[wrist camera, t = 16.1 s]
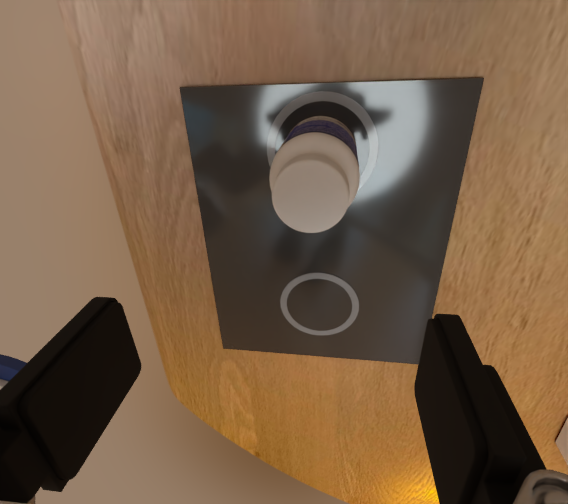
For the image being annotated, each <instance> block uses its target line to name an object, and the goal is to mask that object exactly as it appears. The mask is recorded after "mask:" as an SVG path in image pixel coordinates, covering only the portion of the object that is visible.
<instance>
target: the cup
mask: <svg viewBox="0 0 568 504" xmlns="http://www.w3.org/2000/svg"><path fill="white" fill-rule="evenodd" d="M556 445H557V447H558V449H559V450H560V452H561V454H562V456H563V458H564V460H565V462H566V463H567V465H568V418H567V420H566V422H565V424H564V426H563V428H562V430H561V432H560V434H559V436H558V438H557V440H556Z"/></svg>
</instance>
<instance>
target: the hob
mask: <svg viewBox="0 0 568 504" xmlns="http://www.w3.org/2000/svg"><path fill="white" fill-rule="evenodd" d="M483 80H484V78H451V79H419V80H387V81H355V82H323V83H291V84H259V85H226V86H194V87H180V92H181V98H182V104H183V110H184V116H185V122H186V128H187V134H188V140H189V146H190V152H191V158H192V164H193V170H194V176H195V182H196V188H197V194H198V200H199V206H200V212H201V218H202V224H203V230H204V236H205V242H206V248H207V254H208V260H209V266H210V272H211V278H212V284H213V290H214V296H215V302H216V308H217V314H218V320H219V326H220V332H221V338H222V344H223V348H224V349H237V350H249V351H261V352H274V353H286V354H298V355H311V356H323V357H335V358H347V359H360V360H372V361H384V362H397V363H409V364H419V360H420V355H421V350H422V345H423V340H424V336H425V331H426V326H427V321H428V319H432V314H433V310H434V305H435V300H436V296H437V291H438V287H439V282H440V277H441V273H442V268H443V264H444V259H445V255H446V250H447V245H448V241H449V236H450V232H451V227H452V222H453V218H454V213H455V209H456V204H457V199H458V195H459V190H460V186H461V181H462V177H463V172H464V167H465V163H466V158H467V154H468V149H469V144H470V140H471V135H472V131H473V126H474V121H475V117H476V112H477V108H478V103H479V99H480V94H481V89H482V85H483ZM315 116H326V117H331V118H334V119H336V120H338V121H340V122H341V123H343V124H344V125H345V126H346V127H347V128H348V129H349V130H350V132H351V133H352V135H353V137H354V139H355V142H356V147H357V156H358V163H359V172H360V182H359V188H358V191H357V194H356V196H355V198H354V200H353V202H352V203H351V205H350V206H349V207H348V208H347V210H346V212H345V214H344V216H343V217H342V219H341V220H340V221H339V222H338V223H337V224H336V225H334V226H333V227H331V228H330V229H328V230H325V231H322V232H318V233H305V232H300V231H297V230H295V229H292V228H291V227H289V226H287V225H286V224H285V223H284V222H283V221H282V220H281V219H280V218H279V216H278V215H277V213H276V211H275V209H274V206H273V203H272V191H271V188H270V181H269V176H270V169H271V165H272V162H273V159H274V157H275V155H276V153H277V152H278V150H279V148H280V147H281V145H282V144H283V142H284V141H285V139H286V138H287V136H288V134H289V133H290V131H291V130H292V129H293V128H294V127H295V126H296V125H297V124H299V123H300V122H301V121H303V120H305V119H307V118H311V117H315Z"/></svg>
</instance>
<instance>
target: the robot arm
mask: <svg viewBox="0 0 568 504" xmlns="http://www.w3.org/2000/svg"><path fill="white" fill-rule="evenodd" d="M140 370H141V362H140V359H139V356H138V353H137V350H136V346H135V343H134V340H133V337H132V334H131V332H130V328H129V325H128V322H127V319H126V316H125V313H124V310H123V307H122V305H121V304H120V303H118V301H117V300H116V299H115V298H108V297H95V298H93V299H92V300H91V301H90V302H89V303H88V304H87V305H86V306H85V307H84V308H83V309H82V310H81V311H80V312H79V313H78V314H77V315H76V316H75V317H74V318H73V319H72V320H71V321H69V322H68V323H67V325H66V326H64V327H63V328H62V329H61V330H60V331H59V332H58V333H57V334H56V335H55V336H54V337H53V338H52V339H51V340H50V341H49V342H48V343H47V344H46V345H45V346H44V347H43V348H42V349H41V350H40V351H39V352H38V353H37V354H36V355H35V356H34V357H33V358H32V359H31V360H30V361H29V362H28V363H27V364H26V365H25V366H24V367H23V368H22V369H21V370H20V371H19V372H18V373H17V374H16V375H15V376H14V377H13V378H12V379H11V380H10V381H6V380H3V379H0V504H35V494H36V493H37V491H38V490H39V488H40V487H42V488H43V490H50V491H58V492H61V491H62V490H63V489H64V487H65V485H66V484H67V482H68V481H69V480H70V479H72V478H73V477H75V476H76V474H77V473H78V472H79V470H80V468H81V467H82V465H83V464H84V462H85V460H86V459H87V457H88V456H89V454H90V452H91V451H92V449H93V448H94V446H95V444H96V443H97V441H98V440H99V438H100V436H101V435H102V433H103V432H104V430H105V428H106V427H107V425H108V424H109V422H110V420H111V419H112V417H113V416H114V414H115V412H116V411H117V409H118V408H119V406H120V404H121V403H122V401H123V399H124V398H125V396H126V395H127V393H128V392H129V390H130V388H131V387H132V385H133V383H134V382H135V380H136V379H137V377H138V375H139V373H140ZM415 398H416V402H417V407H418V411H419V415H420V420H421V424H422V428H423V433H424V437H425V442H426V446H427V450H428V455H429V459H430V463H431V468H432V472H433V476H434V481H435V485H436V489H437V494H438V498H439V502H440V504H568V475H566V474H564V473H560V472H557V471H554V470H547V469H546V467H545V465H544V463H543V461H542V459H541V457H540V455H539V453H538V451H537V449H536V447H535V446H534V444H533V442H532V440H531V438H530V436H529V434H528V432H527V430H526V428H525V426H524V424H523V422H522V420H521V418H520V416H519V414H518V412H517V410H516V408H515V406H514V404H513V402H512V400H511V398H510V396H509V394H508V392H507V390H506V388H505V387H504V385H503V383H502V381H501V379H500V377H499V375H498V373H497V371H496V370H495V368H494V367H492V366H491V365H483V364H482V362H481V360H480V358H479V356H478V354H477V352H476V350H475V347H474V345H473V343H472V341H471V339H470V337H469V335H468V333H467V331H466V328H465V326H464V324H463V322H462V320H461V318H460V316H459V315H451V314H436V315H435V317H434V319H428V321H427V326H426V331H425V336H424V340H423V345H422V350H421V355H420V360H419V365H418V370H417V375H416V380H415Z"/></svg>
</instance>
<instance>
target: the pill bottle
mask: <svg viewBox="0 0 568 504" xmlns="http://www.w3.org/2000/svg"><path fill="white" fill-rule="evenodd" d="M269 181H270V188H271V191H272V203H273V206H274V209H275V211H276V213H277V215H278V216H279V218H280V219H281V220H282V221H283V222H284V223H285V224H286V225H287V226H289V227H291V228H292V229H295V230H297V231H300V232H305V233H318V232H322V231H325V230H328V229H330V228H331V227H333V226H334V225H336V224H337V223H338V222H339V221H340V220H341V219H342V217H343V216H344V214H345V212H346V210H347V208H348V207H349V206H350V205H351V203H352V202H353V200H354V198H355V196H356V194H357V191H358V188H359V182H360V172H359V163H358V156H357V147H356V142H355V139H354V137H353V135H352V133H351V132H350V130H349V129H348V128H347V127H346V126H345V125H344V124H343V123H341V122H340V121H338V120H336V119H334V118H331V117H326V116H315V117H311V118H307V119H305V120H303V121H301V122H300V123H299V124H297V125H296V126H295V127H294V128H293V129H292V130H291V131H290V133H289V134H288V136H287V138H286V139H285V141H284V142H283V144H282V145H281V147H280V148H279V150H278V152H277V153H276V155H275V157H274V159H273V162H272V165H271V169H270V176H269Z"/></svg>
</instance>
